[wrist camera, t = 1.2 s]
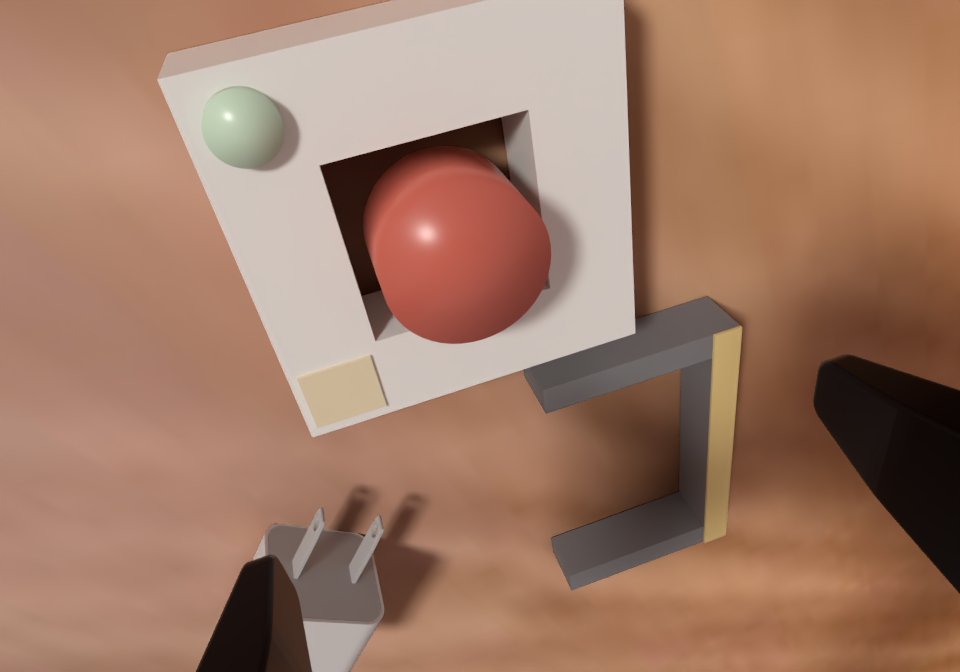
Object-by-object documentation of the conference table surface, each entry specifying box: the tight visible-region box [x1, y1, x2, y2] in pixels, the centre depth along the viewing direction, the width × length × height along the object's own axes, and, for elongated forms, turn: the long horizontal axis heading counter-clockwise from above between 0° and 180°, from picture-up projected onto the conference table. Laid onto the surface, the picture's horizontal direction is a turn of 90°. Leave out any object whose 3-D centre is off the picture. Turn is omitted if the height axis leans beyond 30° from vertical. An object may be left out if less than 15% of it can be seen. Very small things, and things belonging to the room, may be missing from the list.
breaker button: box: [363, 145, 551, 344], centre depth 17 cm, size 4×4×3 cm
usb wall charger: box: [253, 507, 384, 672], centre depth 24 cm, size 4×7×4 cm, turn 152°
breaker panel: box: [157, 0, 635, 438], centre depth 18 cm, size 10×10×3 cm
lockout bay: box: [524, 296, 742, 590], centre depth 26 cm, size 11×7×2 cm, turn 9°
